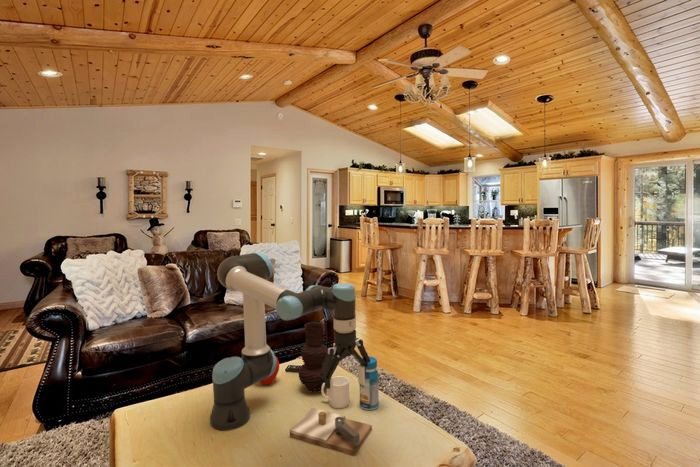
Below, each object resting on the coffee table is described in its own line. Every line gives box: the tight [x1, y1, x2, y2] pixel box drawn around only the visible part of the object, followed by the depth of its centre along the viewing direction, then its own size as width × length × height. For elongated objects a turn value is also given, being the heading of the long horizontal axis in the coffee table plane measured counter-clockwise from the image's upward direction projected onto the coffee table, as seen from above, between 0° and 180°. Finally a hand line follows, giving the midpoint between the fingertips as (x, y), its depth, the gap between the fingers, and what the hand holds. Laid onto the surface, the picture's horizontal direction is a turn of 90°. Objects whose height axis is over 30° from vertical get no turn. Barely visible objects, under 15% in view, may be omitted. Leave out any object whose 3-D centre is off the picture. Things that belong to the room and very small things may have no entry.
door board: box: [289, 407, 373, 456], centre depth 141 cm, size 26×16×7 cm, turn 65°
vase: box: [297, 321, 328, 393], centre depth 173 cm, size 15×15×30 cm
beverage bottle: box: [358, 356, 380, 411], centre depth 159 cm, size 8×8×20 cm
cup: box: [320, 375, 350, 409], centre depth 161 cm, size 8×12×10 cm
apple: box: [259, 354, 280, 385], centre depth 181 cm, size 12×12×13 cm
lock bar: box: [335, 417, 360, 445], centre depth 135 cm, size 12×3×5 cm, turn 35°
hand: (346, 390), depth 130 cm, fingers open, 13 cm apart
